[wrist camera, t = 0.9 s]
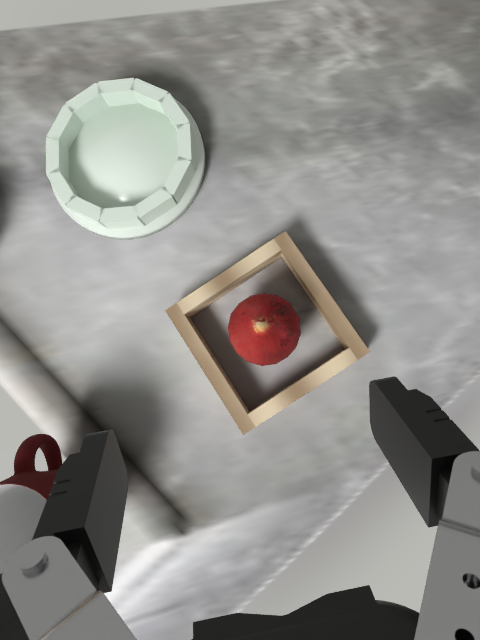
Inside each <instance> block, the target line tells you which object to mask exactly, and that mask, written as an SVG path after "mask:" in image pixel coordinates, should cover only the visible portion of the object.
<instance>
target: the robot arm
mask: <svg viewBox="0 0 480 640" xmlns="http://www.w3.org/2000/svg"><path fill="white" fill-rule="evenodd" d="M369 396H370V424H371V429H372V433H373V436H374V438H375V440H376V442H377V444H378V445H379V447H380V449H381V450H382V452H383V454H384V455H385V457H386V458H387V460H388V462H389V463H390V465H391V467H392V468H393V470H394V471H395V473H396V475H397V477H398V478H399V480H400V482H401V483H402V485H403V486H404V488H405V490H406V491H407V493H408V495H409V496H410V498H411V500H412V501H413V503H414V505H415V506H416V508H417V509H418V511H419V513H420V514H421V516H422V518H423V519H424V521H425V523H426V524H427V526H428V527H433V526H438V528H437V533H436V537H435V542H434V547H433V552H432V557H431V561H430V566H429V571H428V576H427V581H426V585H425V590H424V595H423V600H422V604H421V609H420V613H418V612H416V611H414V610H412V609H409V608H407V607H405V606H402V605H399V604H396V603H392V602H386V601H380V600H375V598H374V596H373V593H372V591H371V588H370V586H369V585H368V586H363V587H358V588H354V589H349V590H344V591H339V592H334V593H330V594H326V595H324V596H322V597H320V598H318V599H316V600H314V601H312V602H311V603H309V604H307V605H305V606H303V607H301V608H299V609H297V610H295V611H293V612H291V613H290V614H287V615H284V616H275V615H260V614H244V613H235V614H230V615H225V616H221V617H216V618H211V619H206V620H202V621H197V622H193V639H192V640H480V451H479V449H477V447H476V446H475V445H474V444H473V443H472V442H471V441H470V440H469V439H468V438H467V436H466V435H465V434H464V433H463V432H462V431H461V430H460V429H459V428H458V427H457V425H456V424H455V423H454V422H453V421H452V420H450V419H449V417H448V416H447V414H446V413H445V412H444V411H442V410H441V408H440V407H439V406H438V404H437V403H436V402H435V401H434V400H433V399H432V398H431V397H429V396H428V395H426V394H424V393H422V392H420V391H418V390H417V389H414V390H407V389H406V388H405V387H404V386H403V384H402V383H401V382H400V381H399V380H398V379H397V378H396V377H389V378H384V379H378V380H373V381H371V382H370V384H369ZM53 483H54V485H52V488H51V490H50V493H49V497H48V498H47V501H46V504H45V506H44V509H43V512H42V514H41V517H40V520H39V522H38V525H37V528H36V530H35V533H34V536H33V538H32V541H30V542H28V543H27V544H25V545H23V546H22V547H21V548H19V549H18V550H17V551H16V552H15V553H14V554H13V555H12V556H11V558H10V559H9V560H8V562H7V563H6V565H5V567H4V570H3V573H1V574H0V640H137V639H136V638H135V637H134V635H133V634H132V632H131V631H130V630H129V628H128V627H127V625H126V624H125V623H124V621H123V620H122V618H121V617H120V616H119V614H118V613H117V611H116V610H115V609H114V607H113V606H112V604H111V603H110V602H109V600H108V599H107V597H106V596H105V595H104V593H106V592H111V591H112V584H113V578H114V572H115V566H116V560H117V554H118V547H119V541H120V535H121V529H122V523H123V517H124V510H125V504H126V498H127V492H128V474H127V469H126V466H125V463H124V460H123V457H122V454H121V451H120V448H119V445H118V442H117V439H116V436H115V433H114V431H113V430H106V431H101V432H96V433H90V434H87V435H86V436H85V438H84V441H83V444H82V447H81V450H80V453H76V454H71V455H70V456H69V457H68V458H67V459H66V460H65V462H64V463H63V464H62V465H61V466H60V467H59V469H58V472H57V474H56V477H55V480H54V482H53Z"/></svg>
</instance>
